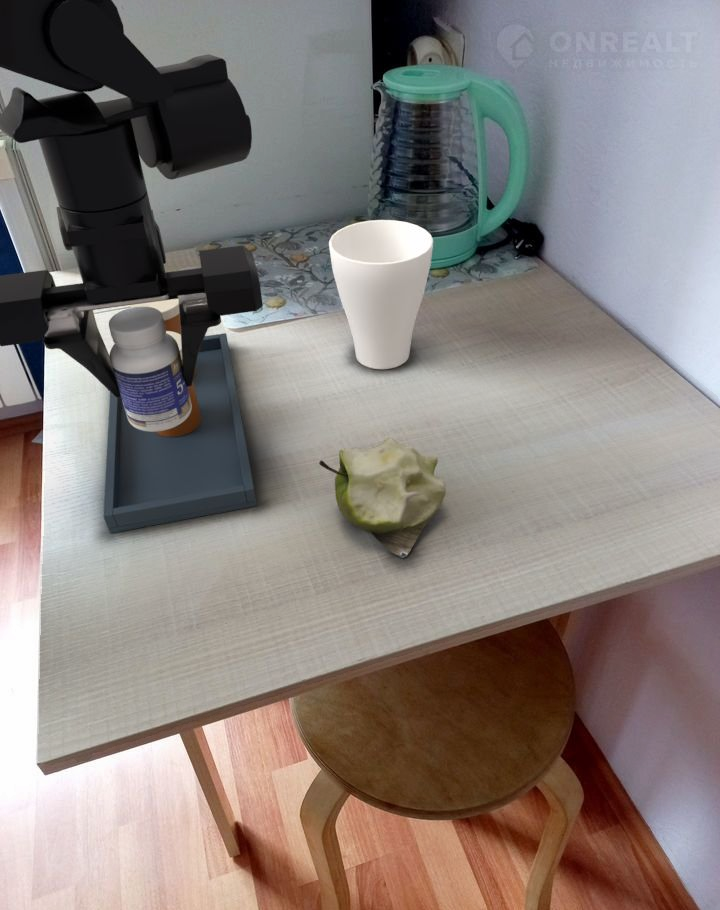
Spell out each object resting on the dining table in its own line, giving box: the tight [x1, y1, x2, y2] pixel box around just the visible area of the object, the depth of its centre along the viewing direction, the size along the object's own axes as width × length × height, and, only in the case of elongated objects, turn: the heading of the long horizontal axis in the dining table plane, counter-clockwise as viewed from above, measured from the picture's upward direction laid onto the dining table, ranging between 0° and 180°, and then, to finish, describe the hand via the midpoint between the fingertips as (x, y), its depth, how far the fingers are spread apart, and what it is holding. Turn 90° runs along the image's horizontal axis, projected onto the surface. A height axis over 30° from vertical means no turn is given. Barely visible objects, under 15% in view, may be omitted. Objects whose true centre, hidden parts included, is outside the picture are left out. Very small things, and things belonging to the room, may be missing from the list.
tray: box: [102, 332, 258, 534], centre depth 70 cm, size 13×27×2 cm, turn 13°
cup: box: [328, 219, 434, 370], centre depth 75 cm, size 10×10×14 cm
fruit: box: [318, 436, 447, 559], centre depth 59 cm, size 9×9×8 cm
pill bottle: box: [108, 307, 192, 432], centre depth 56 cm, size 5×5×9 cm
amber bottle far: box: [130, 299, 196, 379], centre depth 74 cm, size 5×5×9 cm
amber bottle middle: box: [156, 331, 201, 437], centre depth 67 cm, size 5×5×9 cm
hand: (154, 388), depth 57 cm, fingers closed on pill bottle, 5 cm apart
